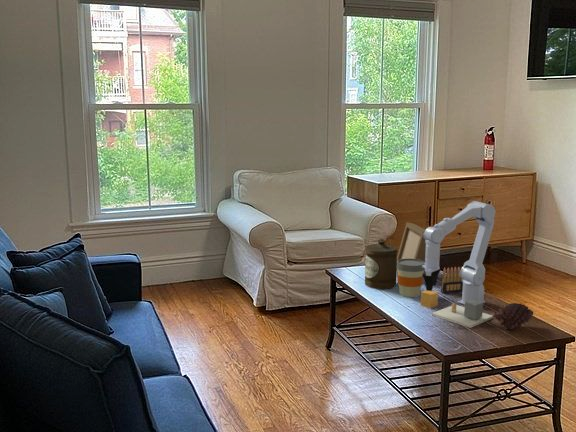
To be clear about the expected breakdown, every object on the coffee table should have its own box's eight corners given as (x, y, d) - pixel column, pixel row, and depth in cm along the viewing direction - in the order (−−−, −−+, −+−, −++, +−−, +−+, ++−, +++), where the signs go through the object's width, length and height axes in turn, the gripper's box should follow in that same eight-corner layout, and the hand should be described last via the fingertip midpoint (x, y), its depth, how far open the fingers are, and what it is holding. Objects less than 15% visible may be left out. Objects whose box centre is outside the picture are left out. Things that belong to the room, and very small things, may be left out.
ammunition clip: (461, 290, 281) (463, 265, 279) (463, 291, 279) (465, 266, 277) (440, 292, 278) (441, 267, 276) (442, 293, 277) (443, 268, 274)
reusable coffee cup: (411, 300, 267) (412, 267, 264) (389, 293, 277) (390, 261, 274) (429, 294, 275) (431, 262, 272) (407, 287, 285) (409, 256, 282)
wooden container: (360, 280, 296) (361, 236, 291) (389, 279, 299) (391, 235, 294) (370, 290, 282) (371, 243, 277) (401, 288, 284) (402, 242, 280)
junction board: (454, 306, 260) (455, 289, 258) (492, 318, 246) (493, 300, 245) (431, 315, 249) (432, 297, 248) (470, 327, 236) (471, 309, 235)
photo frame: (409, 282, 292) (412, 231, 287) (393, 270, 313) (396, 222, 308) (438, 281, 295) (441, 230, 290) (421, 269, 316) (423, 221, 311)
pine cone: (523, 320, 244) (525, 296, 242) (541, 329, 235) (544, 304, 233) (487, 326, 238) (488, 301, 236) (503, 335, 229) (505, 310, 227)
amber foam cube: (427, 302, 265) (428, 289, 263) (437, 305, 261) (438, 292, 260) (420, 305, 261) (421, 291, 260) (430, 308, 258) (430, 294, 256)
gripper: (426, 251, 260) (425, 281, 262) (418, 259, 247) (417, 291, 249) (443, 252, 257) (441, 283, 260) (436, 261, 244) (435, 293, 247)
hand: (431, 287), depth 254 cm, fingers open, 7 cm apart
